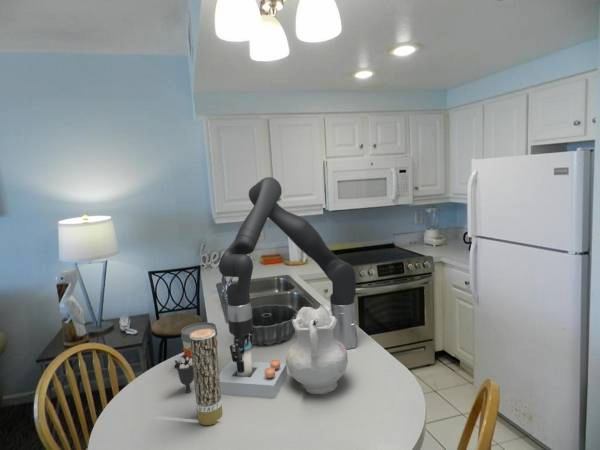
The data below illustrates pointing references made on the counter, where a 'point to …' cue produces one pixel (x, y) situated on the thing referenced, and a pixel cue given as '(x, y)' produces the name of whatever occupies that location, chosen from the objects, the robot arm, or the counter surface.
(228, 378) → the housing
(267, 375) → the plunger
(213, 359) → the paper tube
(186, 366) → the sundae
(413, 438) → the counter surface
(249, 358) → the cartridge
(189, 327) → the reusable coffee cup
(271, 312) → the bundt pan
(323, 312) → the ceramic pitcher
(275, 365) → the plunger
